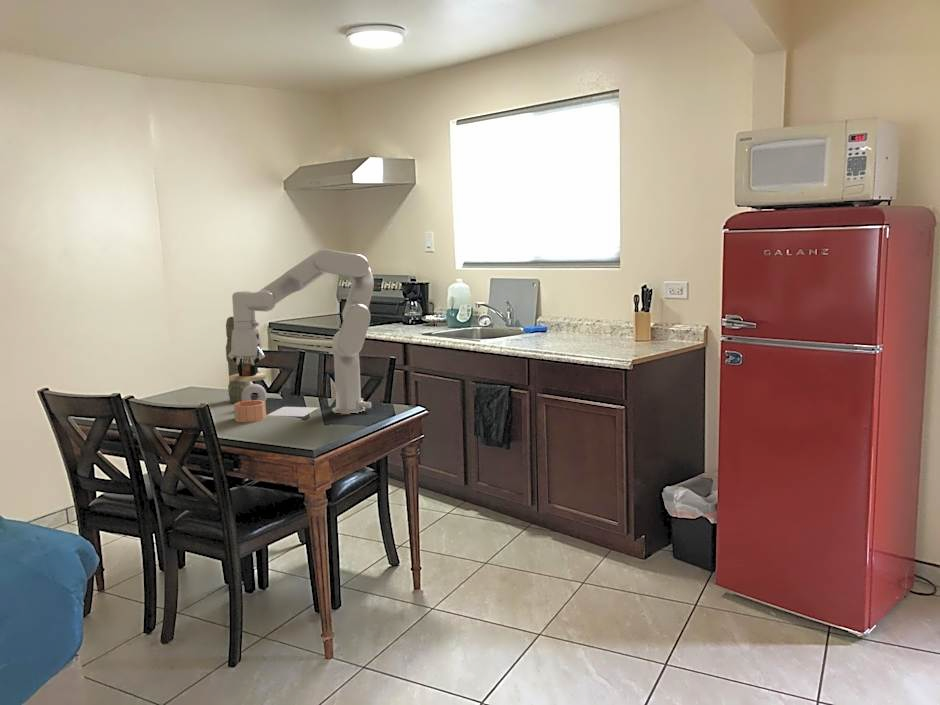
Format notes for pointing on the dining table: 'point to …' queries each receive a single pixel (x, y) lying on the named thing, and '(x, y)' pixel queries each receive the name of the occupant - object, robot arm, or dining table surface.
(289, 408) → the mat
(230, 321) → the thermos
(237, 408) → the bowl
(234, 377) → the lid
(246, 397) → the donut
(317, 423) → the dining table surface
